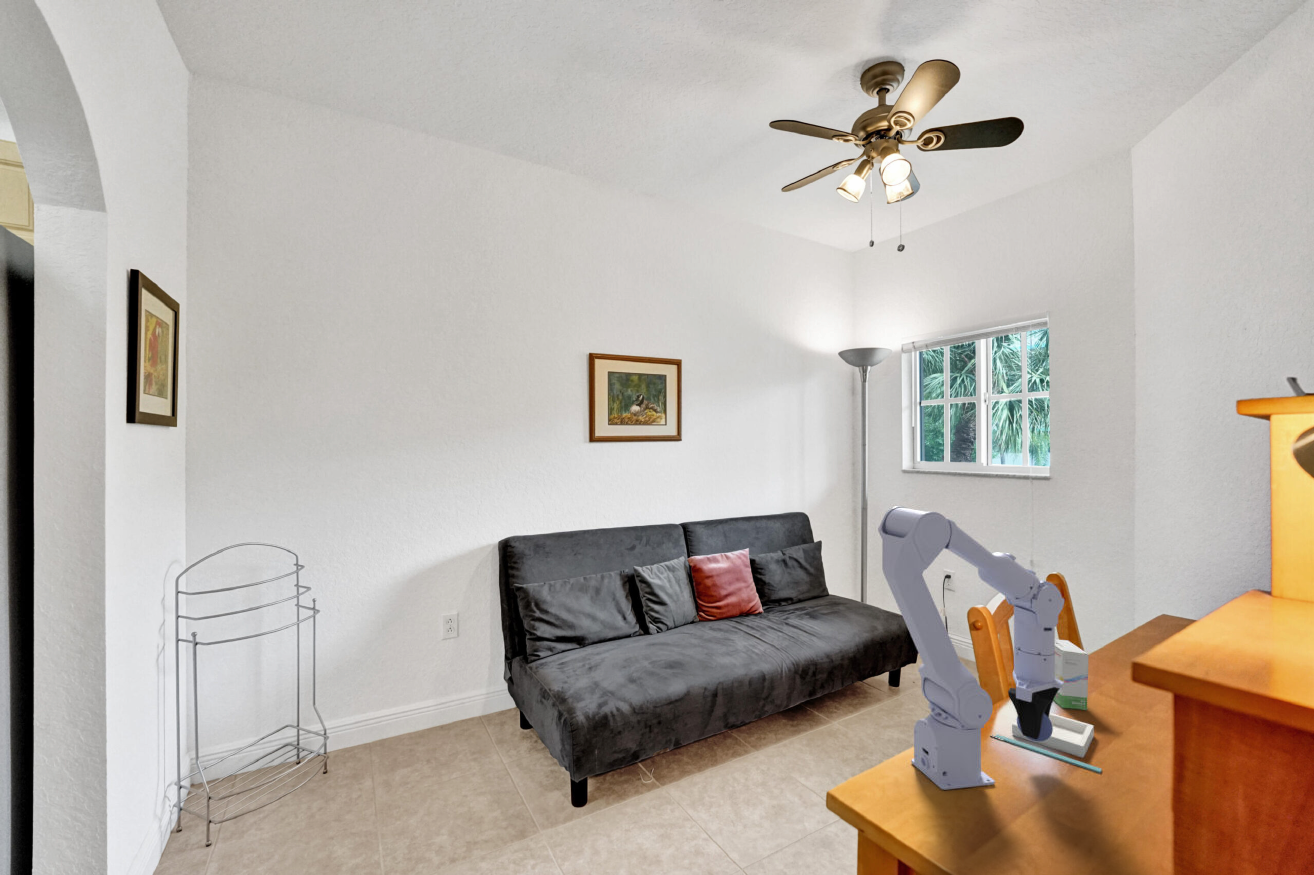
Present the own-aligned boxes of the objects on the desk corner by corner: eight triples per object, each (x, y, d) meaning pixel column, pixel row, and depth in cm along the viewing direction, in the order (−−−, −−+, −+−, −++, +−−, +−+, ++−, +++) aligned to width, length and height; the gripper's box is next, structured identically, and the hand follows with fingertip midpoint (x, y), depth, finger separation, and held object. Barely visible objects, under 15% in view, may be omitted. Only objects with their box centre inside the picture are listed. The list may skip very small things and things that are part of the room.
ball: (1034, 748, 90) (1034, 717, 90) (1009, 733, 95) (1009, 703, 95) (1060, 746, 91) (1060, 715, 91) (1034, 730, 95) (1034, 701, 96)
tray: (1083, 758, 95) (1083, 746, 95) (1012, 735, 102) (1012, 724, 102) (1093, 736, 102) (1093, 725, 102) (1026, 716, 110) (1026, 706, 110)
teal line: (990, 736, 102) (990, 734, 102) (992, 734, 102) (992, 732, 102) (1100, 773, 90) (1100, 771, 90) (1101, 770, 91) (1101, 768, 91)
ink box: (1041, 691, 122) (1041, 637, 122) (1067, 693, 121) (1067, 638, 121) (1061, 708, 113) (1061, 650, 113) (1090, 711, 112) (1089, 652, 112)
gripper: (1053, 667, 85) (1053, 756, 85) (1071, 645, 95) (1072, 725, 95) (1001, 655, 90) (1001, 739, 90) (1023, 635, 100) (1024, 710, 100)
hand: (1034, 730), depth 93 cm, fingers closed on ball, 5 cm apart
